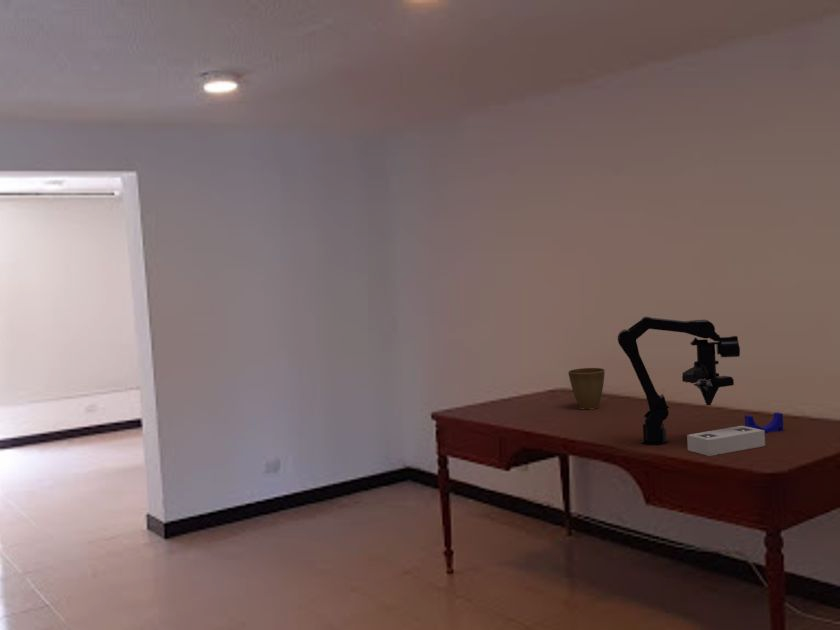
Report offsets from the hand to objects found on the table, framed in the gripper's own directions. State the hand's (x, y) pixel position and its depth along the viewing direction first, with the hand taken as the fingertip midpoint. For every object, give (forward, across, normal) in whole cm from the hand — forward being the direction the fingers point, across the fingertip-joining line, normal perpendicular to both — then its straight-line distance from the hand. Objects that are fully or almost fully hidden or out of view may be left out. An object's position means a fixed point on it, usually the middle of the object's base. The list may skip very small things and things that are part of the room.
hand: (708, 405), depth 283 cm
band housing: (+12, +11, -3) cm, 16 cm away
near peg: (+12, +11, -10) cm, 19 cm away
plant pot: (+12, -78, +3) cm, 79 cm away
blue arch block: (+12, 0, +23) cm, 26 cm away
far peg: (+12, +11, +4) cm, 17 cm away
